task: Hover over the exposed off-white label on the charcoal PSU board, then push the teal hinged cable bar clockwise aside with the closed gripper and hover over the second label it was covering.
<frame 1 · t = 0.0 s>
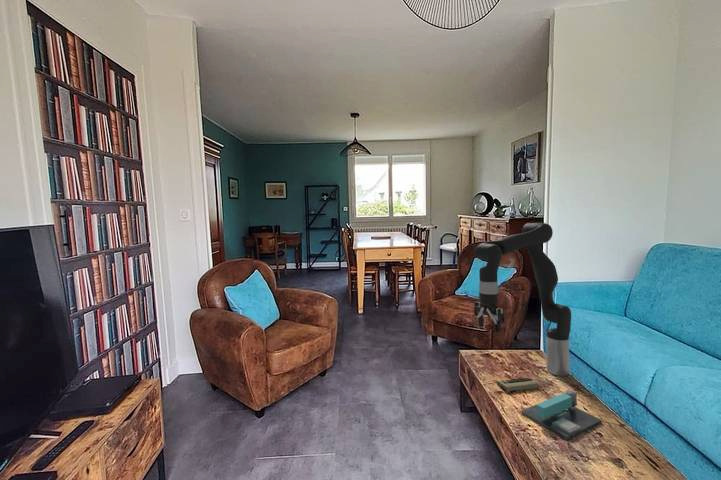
hand: (488, 329, 141), 29 cm above the table, fingers open, 8 cm apart
psu board: (560, 418, 127), on the table
computer: (517, 387, 151), on the table
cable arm: (557, 403, 127), point 5 cm above the table, hinge at 0.0°
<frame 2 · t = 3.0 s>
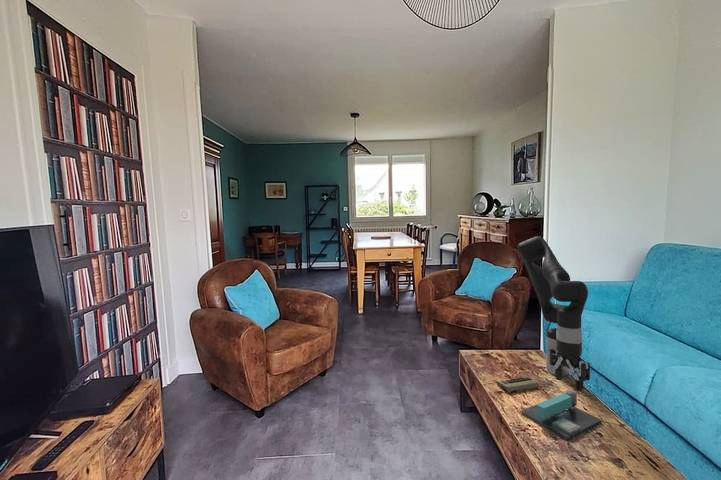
hand: (568, 384, 116), 18 cm above the table, fingers open, 7 cm apart
nothing on the table moved.
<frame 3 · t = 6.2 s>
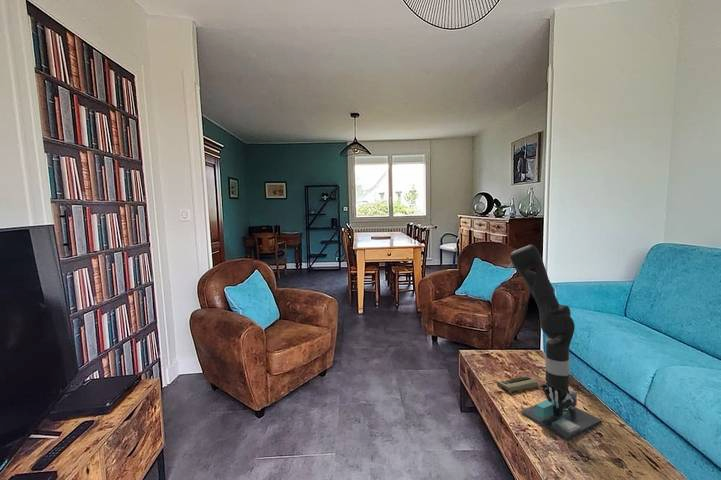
hand: (557, 416, 121), 4 cm above the table, fingers closed
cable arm: (557, 403, 127), point 5 cm above the table, hinge at 0.8°, touching gripper
everything else where it was.
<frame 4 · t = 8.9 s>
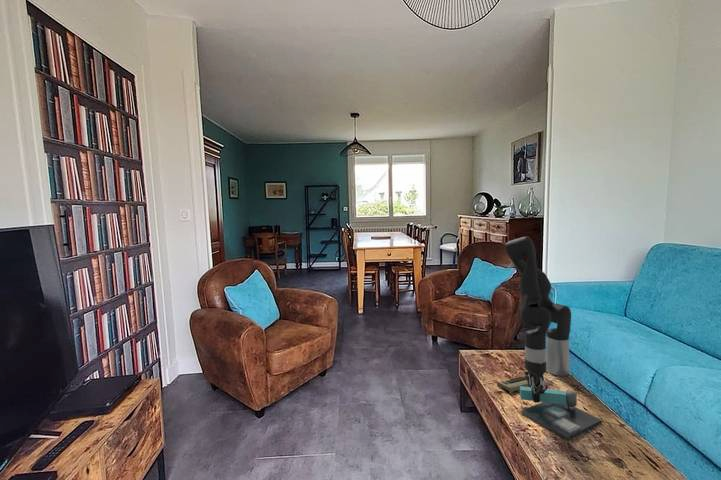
hand: (536, 401, 131), 4 cm above the table, fingers closed
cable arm: (547, 395, 133), point 5 cm above the table, hinge at 43.6°, touching gripper
everything else where it was.
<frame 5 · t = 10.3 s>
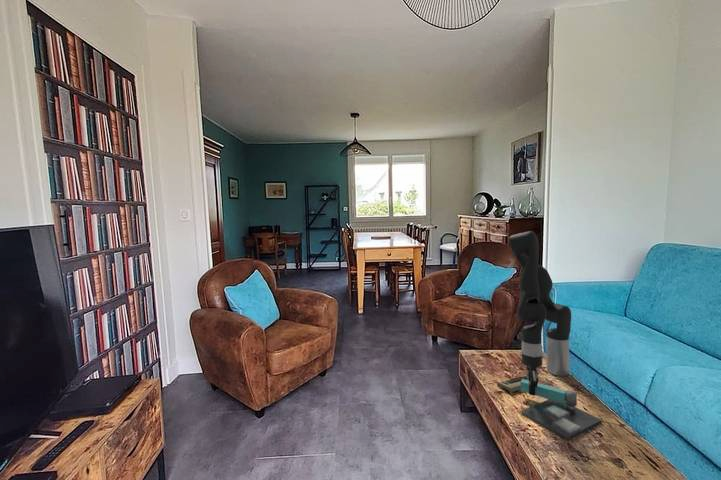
hand: (532, 394, 136), 4 cm above the table, fingers closed
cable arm: (547, 391, 136), point 5 cm above the table, hinge at 66.0°, touching gripper
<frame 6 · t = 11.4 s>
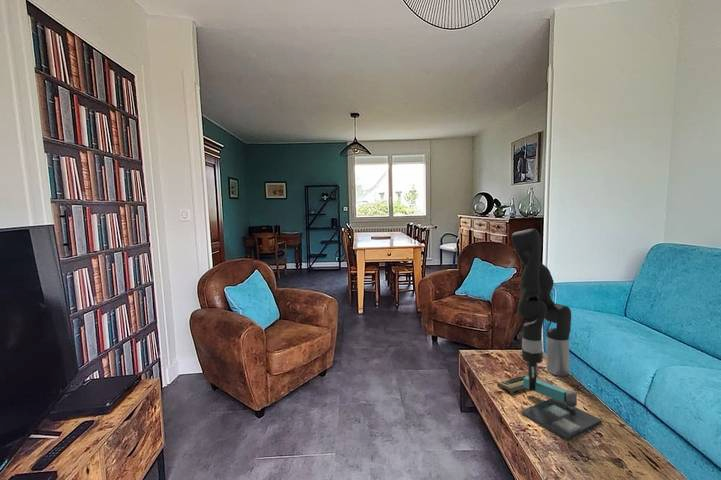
hand: (532, 389, 139), 5 cm above the table, fingers closed
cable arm: (549, 389, 137), point 5 cm above the table, hinge at 78.9°
everything else where it was.
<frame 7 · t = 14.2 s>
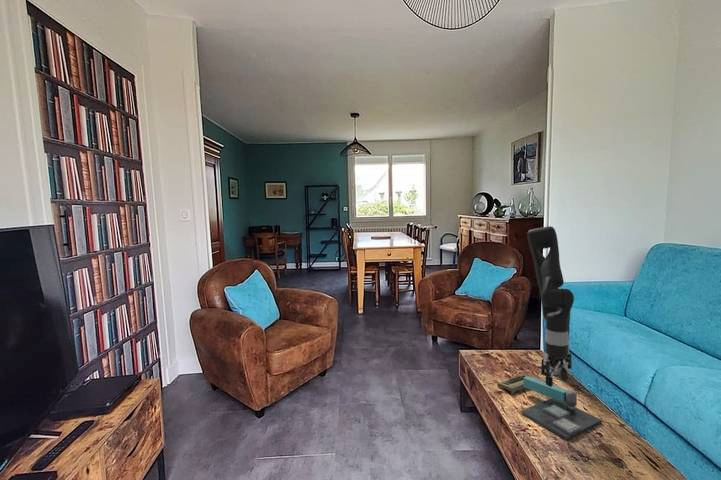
hand: (556, 382, 127), 13 cm above the table, fingers open, 8 cm apart
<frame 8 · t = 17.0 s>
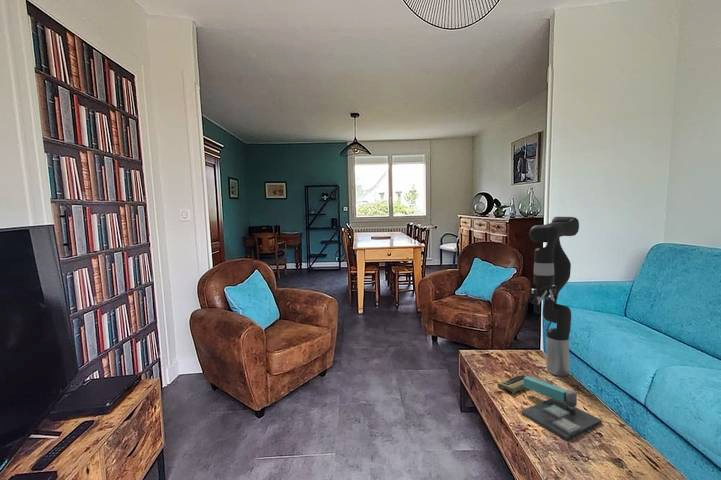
hand: (543, 311, 141), 36 cm above the table, fingers open, 8 cm apart
at the end: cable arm at +79° (first picture: +0°) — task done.
